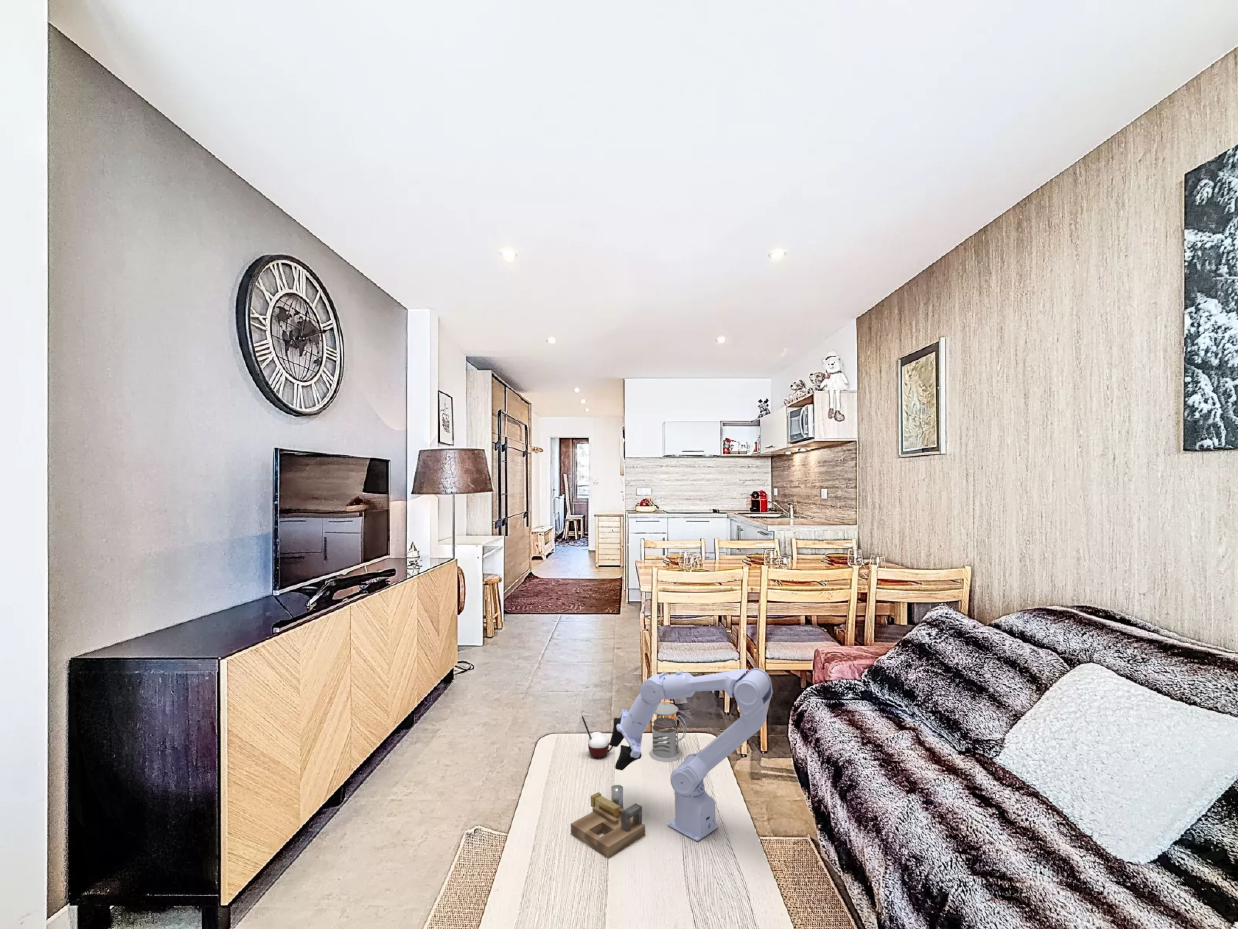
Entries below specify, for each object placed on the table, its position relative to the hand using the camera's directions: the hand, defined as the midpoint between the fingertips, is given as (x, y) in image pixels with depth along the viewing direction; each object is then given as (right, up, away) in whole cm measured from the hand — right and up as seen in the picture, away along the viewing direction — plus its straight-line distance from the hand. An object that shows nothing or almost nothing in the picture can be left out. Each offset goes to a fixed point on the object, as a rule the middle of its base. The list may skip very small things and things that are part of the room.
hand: (615, 756), depth 161 cm
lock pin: (-3, -10, -7) cm, 13 cm away
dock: (-2, -12, -13) cm, 18 cm away
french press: (+16, -12, +27) cm, 34 cm away
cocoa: (-6, -13, +27) cm, 31 cm away
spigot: (0, -12, -3) cm, 13 cm away
